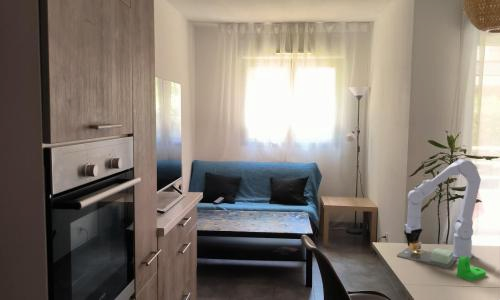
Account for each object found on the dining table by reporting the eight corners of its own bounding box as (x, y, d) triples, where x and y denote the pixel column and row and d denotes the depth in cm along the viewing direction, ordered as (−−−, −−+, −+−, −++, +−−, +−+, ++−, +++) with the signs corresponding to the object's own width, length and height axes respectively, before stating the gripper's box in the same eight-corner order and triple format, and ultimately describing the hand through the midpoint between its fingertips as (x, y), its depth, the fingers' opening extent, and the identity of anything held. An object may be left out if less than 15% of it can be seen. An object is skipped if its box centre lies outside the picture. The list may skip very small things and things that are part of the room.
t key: (408, 252, 198) (409, 242, 197) (417, 250, 202) (417, 240, 201) (413, 254, 196) (413, 244, 196) (421, 251, 200) (422, 241, 199)
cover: (436, 255, 196) (436, 247, 195) (452, 258, 191) (453, 250, 191) (430, 260, 189) (430, 252, 188) (447, 264, 184) (448, 255, 184)
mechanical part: (471, 281, 169) (472, 261, 168) (456, 276, 174) (458, 257, 173) (488, 275, 175) (489, 256, 175) (473, 271, 180) (475, 252, 180)
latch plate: (407, 249, 207) (408, 246, 207) (456, 259, 194) (457, 256, 194) (396, 257, 196) (396, 254, 195) (448, 268, 182) (448, 265, 182)
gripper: (410, 212, 210) (409, 240, 211) (399, 217, 199) (398, 246, 200) (425, 214, 206) (424, 243, 207) (415, 220, 194) (414, 250, 196)
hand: (412, 245), depth 203 cm, fingers open, 5 cm apart
